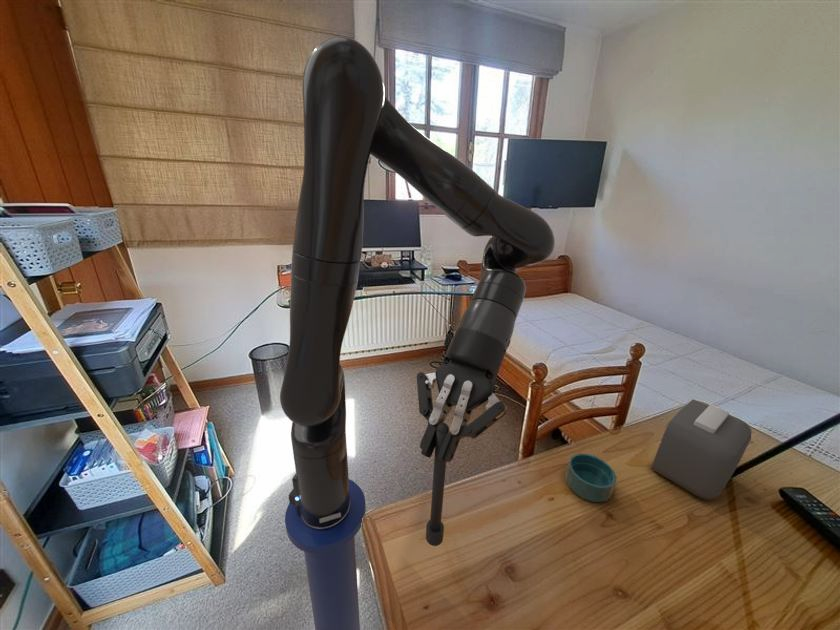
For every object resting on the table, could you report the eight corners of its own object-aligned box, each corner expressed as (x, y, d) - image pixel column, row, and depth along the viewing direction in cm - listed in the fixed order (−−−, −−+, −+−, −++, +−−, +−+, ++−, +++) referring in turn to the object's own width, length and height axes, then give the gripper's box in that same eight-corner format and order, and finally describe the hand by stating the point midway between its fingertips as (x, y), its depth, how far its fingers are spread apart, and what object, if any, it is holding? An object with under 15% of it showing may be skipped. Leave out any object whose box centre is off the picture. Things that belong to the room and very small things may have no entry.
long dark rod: (423, 543, 50) (430, 428, 42) (427, 527, 52) (435, 415, 44) (441, 548, 49) (451, 433, 41) (444, 531, 52) (454, 419, 44)
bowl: (568, 498, 69) (572, 481, 68) (562, 464, 78) (566, 449, 76) (616, 509, 67) (621, 492, 66) (605, 473, 76) (609, 458, 74)
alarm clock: (676, 443, 85) (697, 392, 79) (734, 473, 77) (762, 418, 71) (648, 473, 76) (670, 417, 70) (710, 511, 68) (740, 450, 62)
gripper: (431, 315, 48) (377, 433, 43) (527, 341, 41) (476, 484, 36) (446, 336, 54) (400, 441, 49) (532, 361, 48) (489, 486, 42)
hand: (433, 459), depth 43 cm, fingers closed on long dark rod
